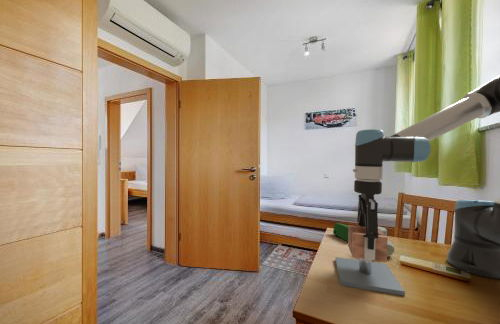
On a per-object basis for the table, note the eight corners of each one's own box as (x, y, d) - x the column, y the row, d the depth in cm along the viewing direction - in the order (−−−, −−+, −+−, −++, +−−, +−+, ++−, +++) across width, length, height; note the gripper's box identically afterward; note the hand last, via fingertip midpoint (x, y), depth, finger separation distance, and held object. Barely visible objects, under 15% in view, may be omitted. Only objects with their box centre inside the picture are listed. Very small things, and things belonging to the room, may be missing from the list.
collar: (378, 249, 71) (378, 227, 71) (386, 261, 63) (387, 237, 63) (348, 245, 74) (348, 225, 74) (352, 257, 65) (353, 233, 65)
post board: (386, 267, 74) (386, 263, 74) (404, 295, 59) (405, 291, 59) (335, 260, 78) (335, 257, 78) (340, 285, 63) (340, 281, 63)
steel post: (370, 269, 70) (370, 240, 70) (372, 275, 66) (373, 244, 66) (358, 268, 71) (358, 238, 71) (360, 273, 67) (361, 242, 67)
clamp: (355, 250, 98) (366, 234, 95) (345, 248, 96) (356, 232, 93) (339, 231, 109) (349, 217, 106) (330, 230, 107) (339, 215, 104)
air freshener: (371, 259, 80) (372, 232, 79) (357, 250, 88) (358, 225, 88) (398, 258, 81) (399, 231, 81) (381, 248, 89) (382, 224, 89)
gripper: (349, 176, 79) (347, 238, 80) (361, 183, 59) (359, 267, 59) (372, 177, 77) (370, 241, 78) (393, 184, 56) (391, 271, 57)
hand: (365, 252), depth 68 cm, fingers closed on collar, 9 cm apart
